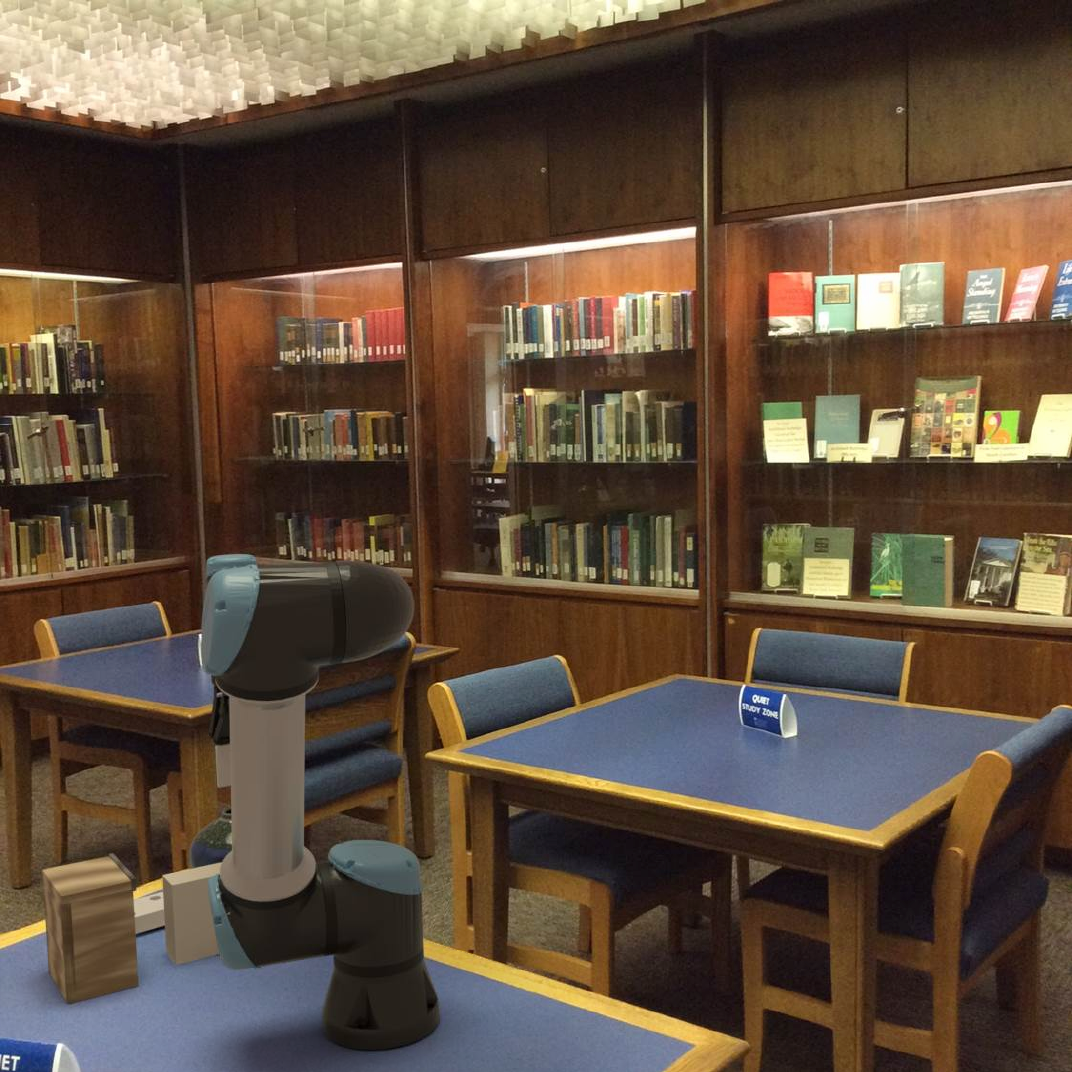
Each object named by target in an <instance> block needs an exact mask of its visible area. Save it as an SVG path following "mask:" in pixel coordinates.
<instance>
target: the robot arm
mask: <svg viewBox="0 0 1072 1072" xmlns="http://www.w3.org/2000/svg"><path fill="white" fill-rule="evenodd" d="M205 564H206V566H205V567H206V571H205V572H206V573H205V574H206V575H205V577H204V578H205V582H206V589H205V594H204V598H203V599H204V600H203V606H202V607H203V608H202V615H201V616H202V617H201V640H200V657H201V659H200V660H201V667H202V669H203V670H202V671H203V672H205V673H206V674H207V675H210V677H211V679H210V680H211V684H212V685H213V701H212V708H211V716H210V721H209V722H210V723H209V730H208V737H209V739H212V742H213V745H215V747H214V749H215V766H216V767H215V768H216V769H215V770H216V787H217V788H218V789H220V788H225V787H230V800H231V801H230V802H231V803H230V806H231V807H230V808H231V816H232V851H231V852H229V853H228V854H227V856H226V857H225V858H224V860H223V861H222V864H221V867H220V874H216V875H215V876H212V877H210V878H209V880H208V892H209V899H210V906H211V912H212V916H213V923H214V929H215V935H216V940H217V945H218V950H219V954H218V955H219V958H220V961H221V963H222V964H223V966H225V967H226V968H227V969H230V970H235V971H237V970H245V969H246V970H247V969H248V970H249V969H254V970H256V969H258V970H259V969H261V968H263V967H268V966H274V965H279V964H280V965H281V964H286V963H291V962H297V961H302V960H303V961H304V960H308V959H315V958H321V957H328V956H333V971H332V975H331V976H330V977H331V978H330V981H329V985H328V989H327V992H326V996H325V998H324V1003H323V1007H322V1014H321V1017H322V1018H321V1019H322V1021H321V1022H322V1032H323V1033H324V1035H325V1037H326V1038H328V1039H329V1040H330V1041H331V1042H333V1043H334V1044H337V1045H339V1046H343V1047H345V1048H349V1049H354V1050H365V1051H377V1050H379V1051H380V1050H387V1049H388V1050H389V1049H394V1048H399V1047H403V1046H406V1045H409V1044H412V1043H415V1042H417V1041H419V1040H421V1039H423V1038H424V1037H426V1036H428V1035H430V1034H431V1033H432V1032H433V1031H434V1030H435V1029H436V1027H437V1026H438V1024H439V1022H440V1001H439V997H438V994H437V992H436V989H435V985H434V984H433V983H434V982H433V980H432V978H431V974H430V973H429V969H428V968H427V965H426V962H425V950H424V921H423V920H424V919H423V917H424V916H423V894H422V893H423V891H424V885H423V883H422V875H421V872H422V871H421V864H420V861H419V858H418V857H417V856H416V854H415V853H413V852H412V851H411V850H410V849H409V848H406V847H405V846H402V845H400V844H397V843H392V842H388V841H383V840H373V839H354V840H346V841H343V842H342V843H337V844H335V845H333V846H332V847H331V848H330V850H329V853H328V855H327V860H322V861H316V859H315V856H314V855H313V853H312V852H311V851H310V850H309V849H308V848H307V847H305V845H304V844H305V842H304V841H305V839H304V838H305V753H306V751H305V750H306V747H305V746H306V745H305V743H306V742H305V741H306V740H305V739H306V694H307V695H308V693H310V692H311V691H312V690H313V689H314V688H315V687H316V686H317V683H318V681H319V678H320V666H325V665H326V666H327V665H335V664H345V663H352V662H357V661H361V660H365V659H368V658H371V657H373V656H375V655H378V654H379V653H382V652H384V651H385V650H388V649H390V647H393V646H394V645H395V644H396V643H397V642H399V640H401V639H402V638H403V637H404V635H406V633H407V631H408V630H409V628H410V625H411V624H412V622H413V619H414V615H415V614H414V613H415V600H414V595H413V592H412V590H411V588H410V586H409V584H408V582H407V580H405V579H404V577H402V575H400V574H399V573H398V572H396V571H394V570H393V569H392V568H391V569H390V568H389V567H385V566H383V565H379V564H376V563H375V564H374V563H370V562H366V561H358V560H333V561H321V562H307V563H305V562H304V563H288V564H287V563H286V564H271V565H270V564H269V565H267V564H266V565H258V561H257V558H256V557H255V556H254V555H251V554H247V553H246V554H242V553H237V554H236V553H235V554H231V553H230V554H222V555H221V554H220V555H213V556H211V557H209V558H207V560H206V563H205Z"/></svg>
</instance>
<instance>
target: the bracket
mask: <svg viewBox="0 0 1072 1072" xmlns="http://www.w3.org/2000/svg"><path fill="white" fill-rule="evenodd" d="M134 915H135V932H136V935H137V934H140V933H143V932H146V931H150V930H154V929H157V928H161V927H165V918H164V900H163V891H161V892H160V891H159V892H158V893H154V894H150V895H146V896H144V897H139V898H135V899H134Z"/></svg>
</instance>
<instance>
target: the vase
mask: <svg viewBox="0 0 1072 1072" xmlns="http://www.w3.org/2000/svg"><path fill="white" fill-rule="evenodd" d="M231 851H232V816H231V807H230V808H229V807H228V808H226V809H223V810H222V812H221V816H220V817H218V818H216V819H215V820H213V821H211V822H210V823H209V824H207V825H205V826H204V827H203V828H202V829H201V830H199V831H198V833H196V835H195V836H194V838H193V840H192V842H191V845H190V847H189V850H188V859H189V865H190V866H189V867H190V869H193V868H198V867H202V866H207V865H212V864H216V863H221V862H222V861H223V860H224V858H225V857H226V856H227V854H228V853H229V852H231Z"/></svg>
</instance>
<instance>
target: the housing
mask: <svg viewBox="0 0 1072 1072" xmlns="http://www.w3.org/2000/svg"><path fill="white" fill-rule="evenodd" d="M41 872H42V874H41V875H42V888H43V902H44V905H43V906H44V920H45V934H46V949H47V950H46V951H47V965H48V967H47V969H48V973H49V975H50V976H51V978H52V980H53V982H54V983H55V985H56V986H57V989H58V990H59V992H60V993H61V995H62V996H63V998H64V1000H65V1002H66V1003H67V1005H71V1004H75V1003H78V1002H83V1001H86V1000H90V999H94V998H97V997H100V996H101V997H102V996H105V995H108V994H112V993H116V992H121V991H124V990H128V989H132V988H135V987H139V973H138V972H139V971H138V954H137V953H138V951H137V938H136V937H137V936H136V935H137V934H136V932H135V915H134V900H135V899H134V892H137V878H136V877H135V875H134V874H133V873H132V872H131V871H130V870H129V869H128V868H127V867H126V866H125V865H124V864H123V863H122V861H120V859H119V858H118V857H117V856H116V855H115V854H114V853H113V852H112V853H108V856H102V857H98V858H93V859H88V860H83V861H78V862H73V863H69V864H63V865H59V866H54V867H49V868H45V869H42V870H41Z"/></svg>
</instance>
